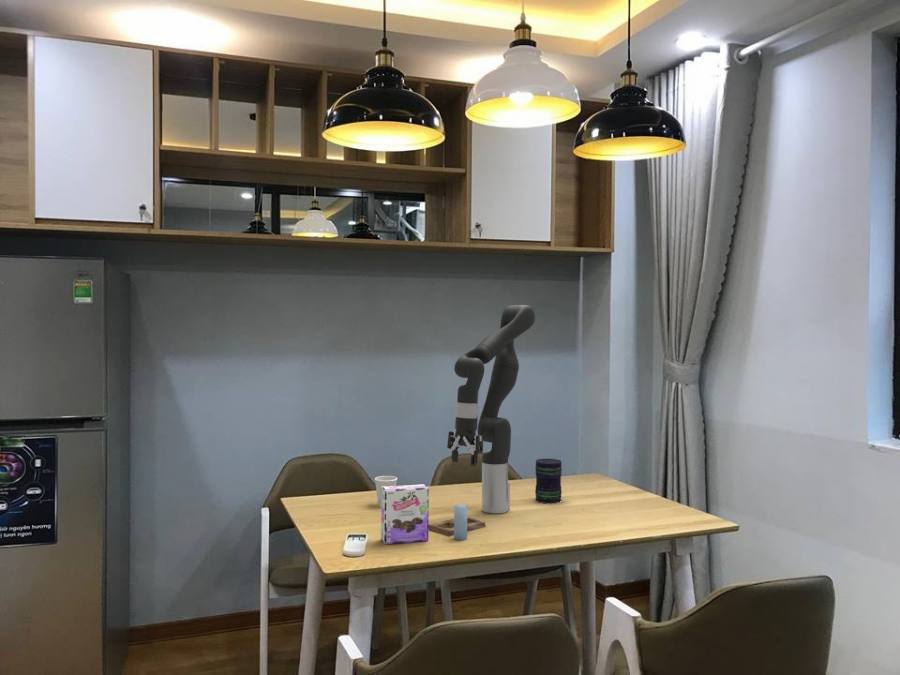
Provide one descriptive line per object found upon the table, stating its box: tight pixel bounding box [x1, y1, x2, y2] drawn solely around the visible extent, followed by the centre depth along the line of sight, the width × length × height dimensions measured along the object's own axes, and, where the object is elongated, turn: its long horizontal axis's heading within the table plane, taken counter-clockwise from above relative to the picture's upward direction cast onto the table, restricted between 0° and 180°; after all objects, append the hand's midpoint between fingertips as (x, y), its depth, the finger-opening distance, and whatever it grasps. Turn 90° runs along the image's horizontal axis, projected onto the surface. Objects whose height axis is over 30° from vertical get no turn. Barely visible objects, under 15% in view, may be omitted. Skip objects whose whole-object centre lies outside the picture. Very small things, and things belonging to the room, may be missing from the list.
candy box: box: [380, 483, 430, 545], centre depth 216 cm, size 14×6×16 cm, turn 106°
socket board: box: [428, 516, 486, 537], centre depth 230 cm, size 16×10×2 cm, turn 133°
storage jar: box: [534, 458, 563, 504], centre depth 267 cm, size 10×10×15 cm
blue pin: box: [453, 504, 468, 541], centre depth 218 cm, size 4×4×10 cm
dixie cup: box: [374, 475, 398, 508], centre depth 259 cm, size 8×8×10 cm
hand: (463, 463), depth 241 cm, fingers open, 8 cm apart
